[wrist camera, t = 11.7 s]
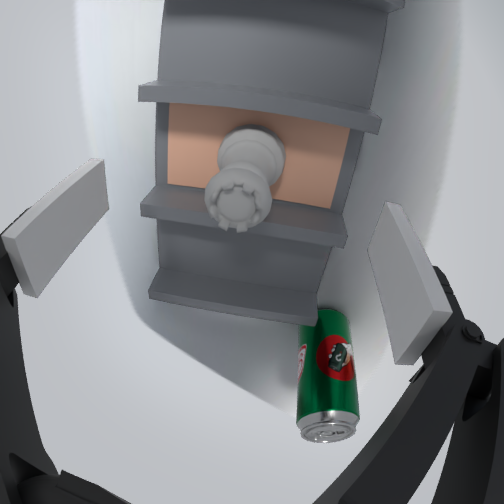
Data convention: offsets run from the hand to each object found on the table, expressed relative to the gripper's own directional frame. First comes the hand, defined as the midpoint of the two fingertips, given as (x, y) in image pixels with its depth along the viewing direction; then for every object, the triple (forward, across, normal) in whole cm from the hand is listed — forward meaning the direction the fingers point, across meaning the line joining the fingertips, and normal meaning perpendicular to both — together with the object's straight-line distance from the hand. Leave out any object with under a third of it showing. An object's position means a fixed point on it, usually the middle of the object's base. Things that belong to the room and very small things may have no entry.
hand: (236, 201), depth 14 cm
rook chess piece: (+8, 0, -1) cm, 8 cm away
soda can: (+9, +9, -16) cm, 21 cm away
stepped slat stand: (+9, 0, 0) cm, 9 cm away
